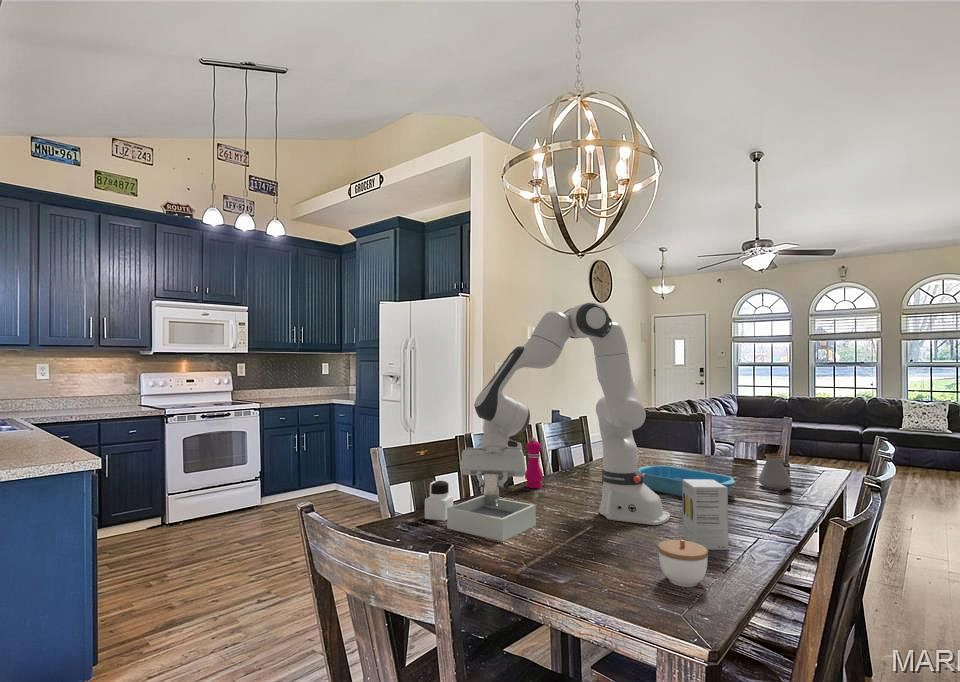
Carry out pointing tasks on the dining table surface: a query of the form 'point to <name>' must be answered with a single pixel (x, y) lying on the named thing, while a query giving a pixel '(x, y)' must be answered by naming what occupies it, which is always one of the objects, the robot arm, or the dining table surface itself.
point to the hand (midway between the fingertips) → (491, 486)
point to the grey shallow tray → (492, 512)
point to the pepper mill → (533, 465)
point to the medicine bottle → (438, 501)
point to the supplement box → (705, 513)
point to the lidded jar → (683, 562)
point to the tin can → (491, 489)
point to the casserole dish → (677, 478)
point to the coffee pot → (774, 472)
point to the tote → (491, 519)
